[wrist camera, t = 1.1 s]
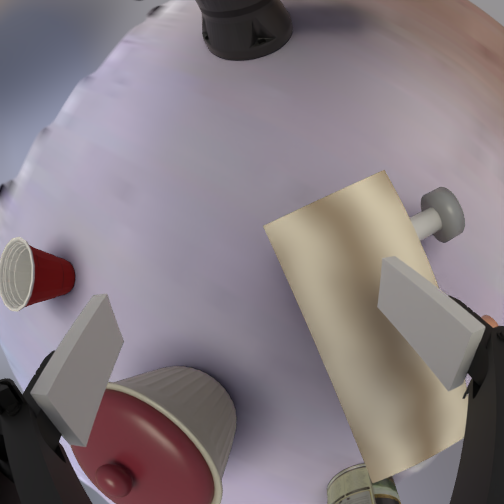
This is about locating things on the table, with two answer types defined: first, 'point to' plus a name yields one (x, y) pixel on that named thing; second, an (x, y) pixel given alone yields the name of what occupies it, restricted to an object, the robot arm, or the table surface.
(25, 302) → the plastic cup
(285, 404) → the table surface
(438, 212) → the grey plunger
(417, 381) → the stand
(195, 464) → the canister
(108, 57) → the table surface
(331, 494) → the coffee can
